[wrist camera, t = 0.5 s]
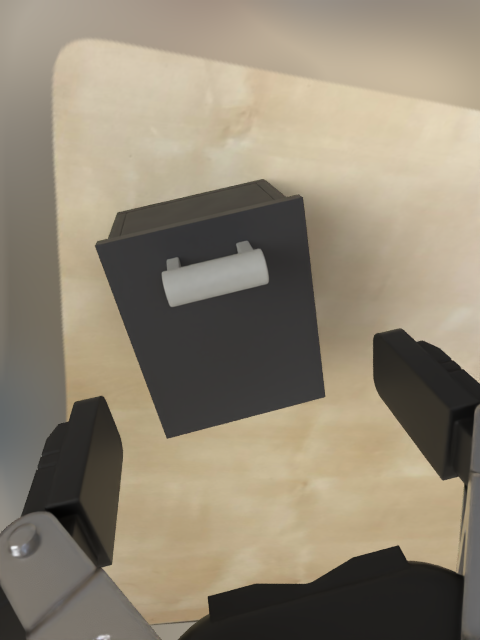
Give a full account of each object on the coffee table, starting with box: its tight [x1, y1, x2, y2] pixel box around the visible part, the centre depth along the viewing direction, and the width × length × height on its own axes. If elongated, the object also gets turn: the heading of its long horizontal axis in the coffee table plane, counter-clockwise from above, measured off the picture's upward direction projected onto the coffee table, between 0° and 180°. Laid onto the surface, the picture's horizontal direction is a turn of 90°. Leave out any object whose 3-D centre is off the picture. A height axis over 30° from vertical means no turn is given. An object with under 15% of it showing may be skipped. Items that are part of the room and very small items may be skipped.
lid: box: [95, 194, 325, 439], centre depth 25 cm, size 14×12×5 cm
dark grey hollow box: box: [108, 179, 286, 239], centre depth 32 cm, size 14×12×10 cm
